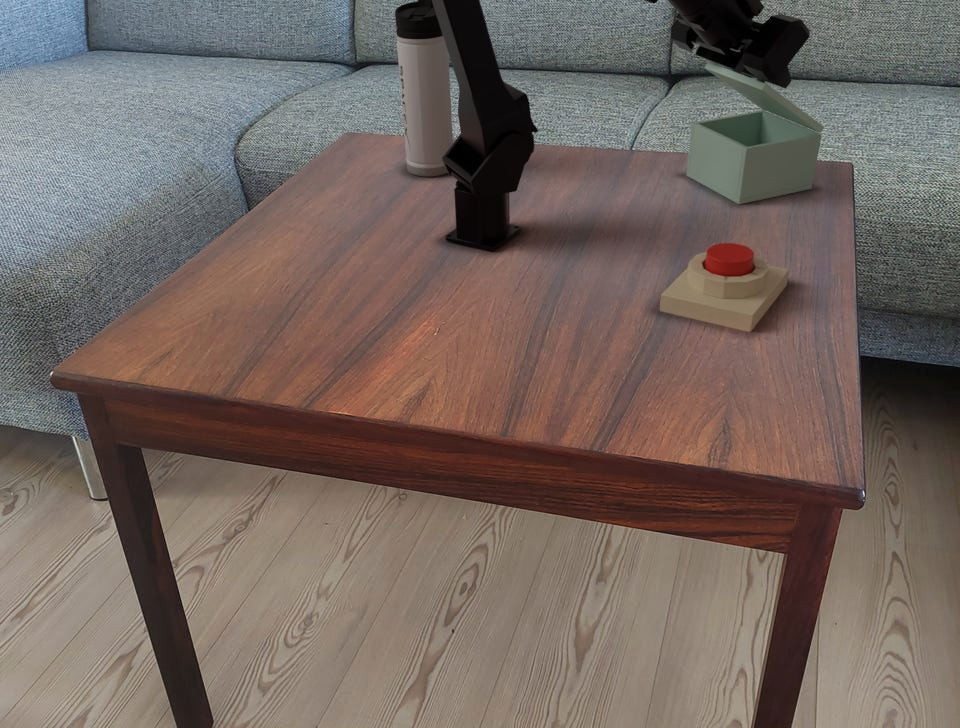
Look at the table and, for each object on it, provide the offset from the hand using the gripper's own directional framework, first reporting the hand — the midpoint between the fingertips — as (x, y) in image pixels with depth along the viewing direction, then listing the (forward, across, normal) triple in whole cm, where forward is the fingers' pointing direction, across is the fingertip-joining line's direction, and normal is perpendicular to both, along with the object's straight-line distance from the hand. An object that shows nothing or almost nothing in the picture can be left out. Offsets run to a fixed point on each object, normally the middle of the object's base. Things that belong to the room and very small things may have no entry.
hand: (773, 79), depth 109 cm
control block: (-9, -25, +24) cm, 36 cm away
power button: (-11, -25, +22) cm, 35 cm away
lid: (+1, 0, +2) cm, 3 cm away
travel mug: (-18, +24, +32) cm, 44 cm away
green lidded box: (+7, 0, +10) cm, 12 cm away
